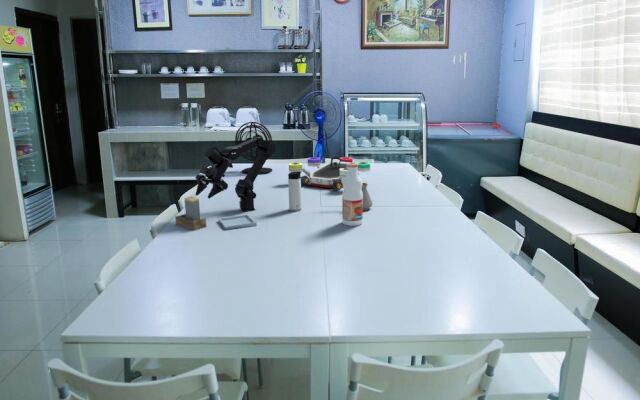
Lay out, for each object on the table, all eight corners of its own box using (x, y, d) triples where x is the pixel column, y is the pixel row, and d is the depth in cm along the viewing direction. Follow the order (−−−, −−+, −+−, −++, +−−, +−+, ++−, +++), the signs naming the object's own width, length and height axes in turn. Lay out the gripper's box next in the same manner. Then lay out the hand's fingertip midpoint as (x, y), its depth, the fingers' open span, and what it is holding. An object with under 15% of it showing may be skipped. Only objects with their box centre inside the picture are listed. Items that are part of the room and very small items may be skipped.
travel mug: (300, 211, 260) (299, 173, 255) (287, 211, 261) (286, 172, 256) (303, 208, 266) (302, 170, 261) (291, 208, 267) (289, 170, 262)
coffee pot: (373, 205, 268) (373, 177, 265) (371, 212, 258) (371, 182, 254) (333, 204, 273) (332, 176, 269) (329, 210, 262) (329, 181, 258)
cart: (380, 180, 326) (380, 155, 322) (350, 193, 294) (350, 166, 290) (320, 173, 349) (319, 150, 345) (286, 185, 318) (285, 159, 314)
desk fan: (233, 173, 352) (229, 122, 343) (243, 168, 369) (240, 119, 360) (270, 175, 345) (267, 123, 336) (279, 170, 361) (277, 120, 352)
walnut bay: (188, 221, 248) (187, 213, 247) (206, 226, 239) (205, 218, 238) (176, 224, 243) (175, 216, 242) (193, 230, 234) (193, 222, 233)
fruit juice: (345, 219, 246) (345, 161, 239) (364, 220, 243) (364, 162, 236) (340, 225, 237) (339, 165, 230) (360, 226, 235) (360, 166, 227)
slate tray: (247, 217, 252) (247, 214, 252) (256, 225, 239) (256, 222, 239) (218, 221, 246) (218, 218, 246) (225, 230, 234) (225, 226, 233)
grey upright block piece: (194, 222, 246) (192, 195, 243) (203, 224, 242) (201, 198, 238) (184, 225, 242) (181, 198, 238) (192, 228, 237) (190, 200, 234)
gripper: (197, 157, 248) (179, 184, 243) (221, 162, 236) (203, 189, 231) (211, 171, 256) (194, 197, 251) (235, 176, 244) (218, 203, 239)
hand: (202, 196), depth 243 cm, fingers open, 9 cm apart
